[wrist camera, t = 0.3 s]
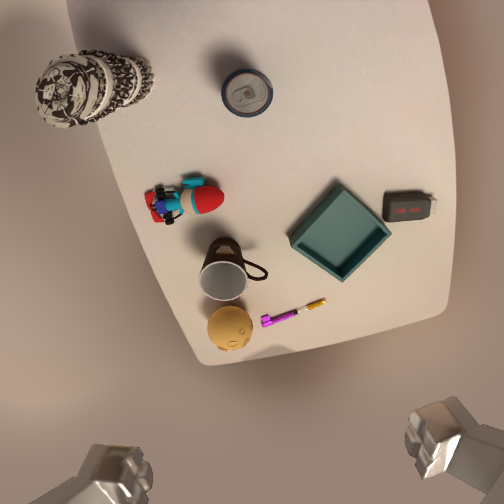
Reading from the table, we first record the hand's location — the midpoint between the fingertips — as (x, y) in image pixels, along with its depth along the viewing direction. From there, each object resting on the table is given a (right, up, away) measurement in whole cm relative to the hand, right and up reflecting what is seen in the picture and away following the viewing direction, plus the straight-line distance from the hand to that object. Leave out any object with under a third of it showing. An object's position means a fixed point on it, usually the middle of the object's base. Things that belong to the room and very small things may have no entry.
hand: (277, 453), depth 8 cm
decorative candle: (-21, +35, +37) cm, 55 cm away
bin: (+17, +10, +54) cm, 58 cm away
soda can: (-2, +32, +40) cm, 51 cm away
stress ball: (-6, -8, +65) cm, 65 cm away
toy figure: (-13, +16, +49) cm, 53 cm away
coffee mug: (-5, +5, +56) cm, 57 cm away
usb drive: (+32, +16, +52) cm, 63 cm away
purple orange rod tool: (+9, -7, +65) cm, 66 cm away
